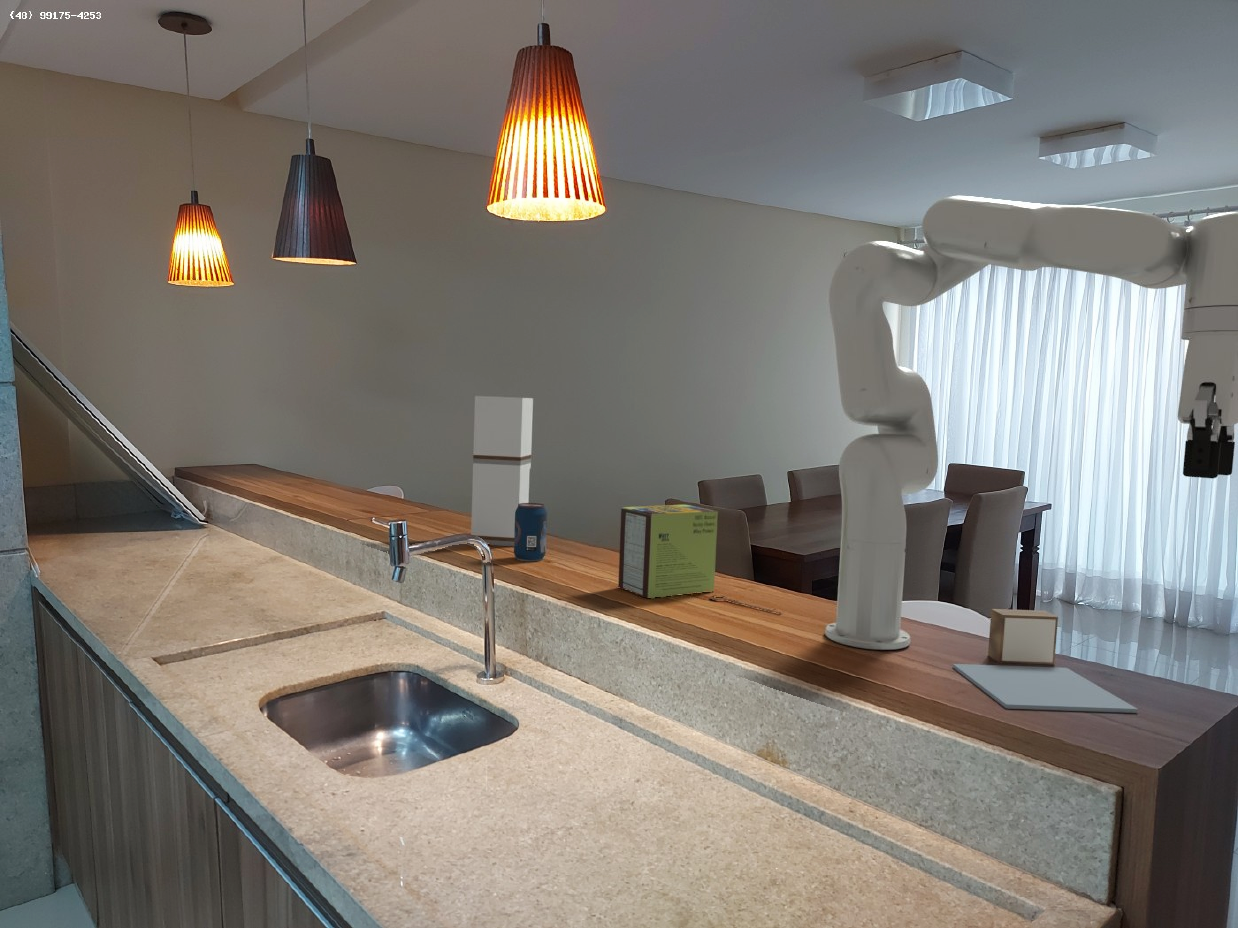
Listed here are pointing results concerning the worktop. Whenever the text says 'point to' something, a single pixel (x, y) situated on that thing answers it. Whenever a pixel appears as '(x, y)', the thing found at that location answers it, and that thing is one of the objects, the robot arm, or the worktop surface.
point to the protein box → (667, 550)
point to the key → (743, 603)
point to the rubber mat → (1042, 688)
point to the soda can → (530, 532)
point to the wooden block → (1022, 636)
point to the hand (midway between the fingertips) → (1207, 475)
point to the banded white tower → (500, 465)
